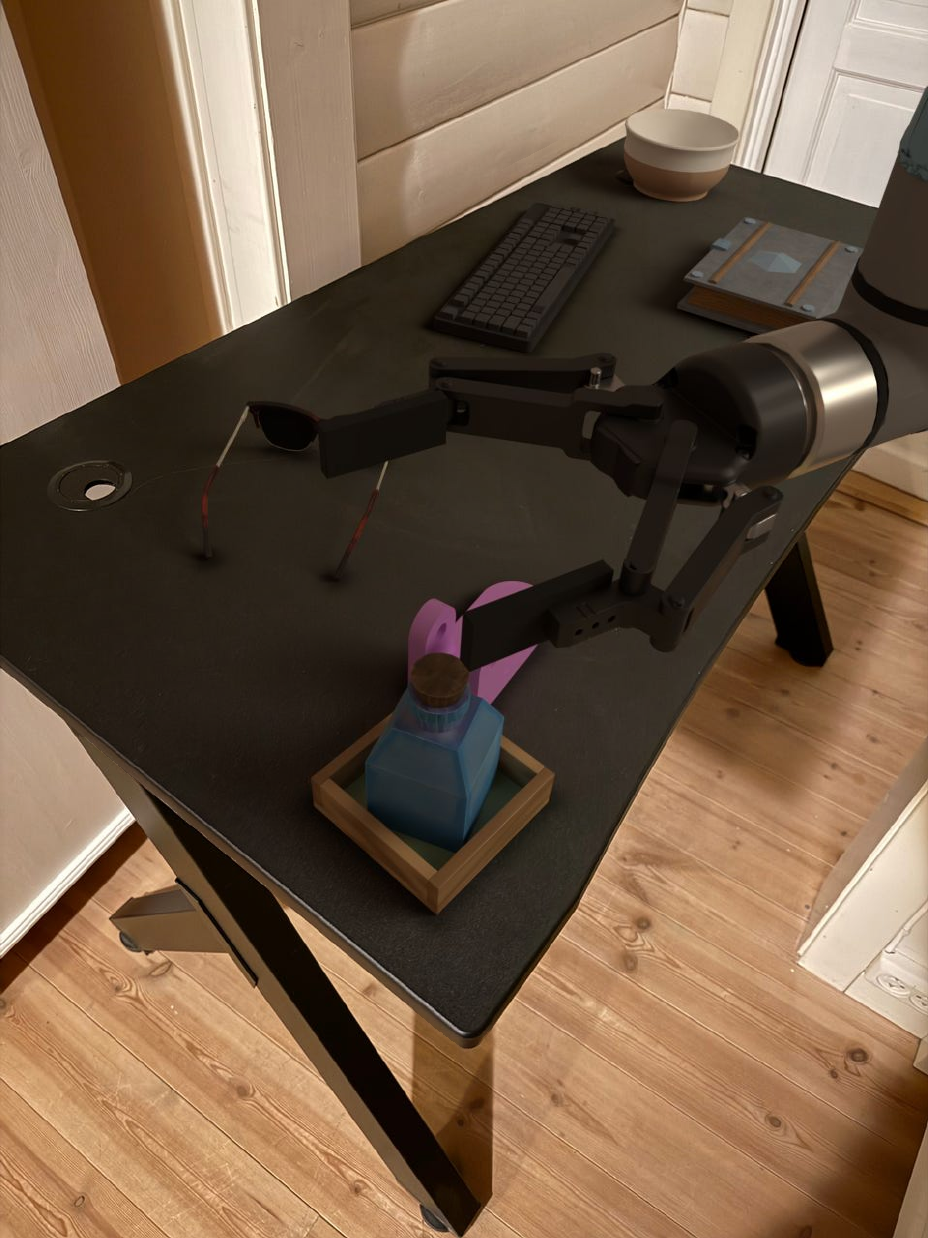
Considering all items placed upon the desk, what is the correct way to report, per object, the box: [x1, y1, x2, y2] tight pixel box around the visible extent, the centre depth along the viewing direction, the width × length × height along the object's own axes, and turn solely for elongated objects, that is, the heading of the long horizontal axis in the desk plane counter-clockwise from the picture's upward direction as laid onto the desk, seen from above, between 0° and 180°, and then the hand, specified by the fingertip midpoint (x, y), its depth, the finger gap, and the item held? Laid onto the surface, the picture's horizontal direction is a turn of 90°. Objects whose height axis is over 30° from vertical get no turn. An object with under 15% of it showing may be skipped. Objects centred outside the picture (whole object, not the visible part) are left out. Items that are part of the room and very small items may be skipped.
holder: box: [310, 710, 556, 915], centre depth 56 cm, size 11×11×3 cm
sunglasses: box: [201, 400, 389, 580], centre depth 76 cm, size 14×16×5 cm
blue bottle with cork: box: [365, 652, 505, 853], centre depth 53 cm, size 6×6×12 cm
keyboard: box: [434, 202, 616, 354], centre depth 109 cm, size 35×11×2 cm, turn 159°
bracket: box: [407, 580, 539, 706], centre depth 65 cm, size 13×6×7 cm, turn 148°
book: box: [676, 216, 864, 335], centre depth 107 cm, size 21×16×5 cm
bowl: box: [623, 108, 741, 203], centre depth 128 cm, size 16×16×8 cm
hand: (385, 538), depth 39 cm, fingers open, 13 cm apart
